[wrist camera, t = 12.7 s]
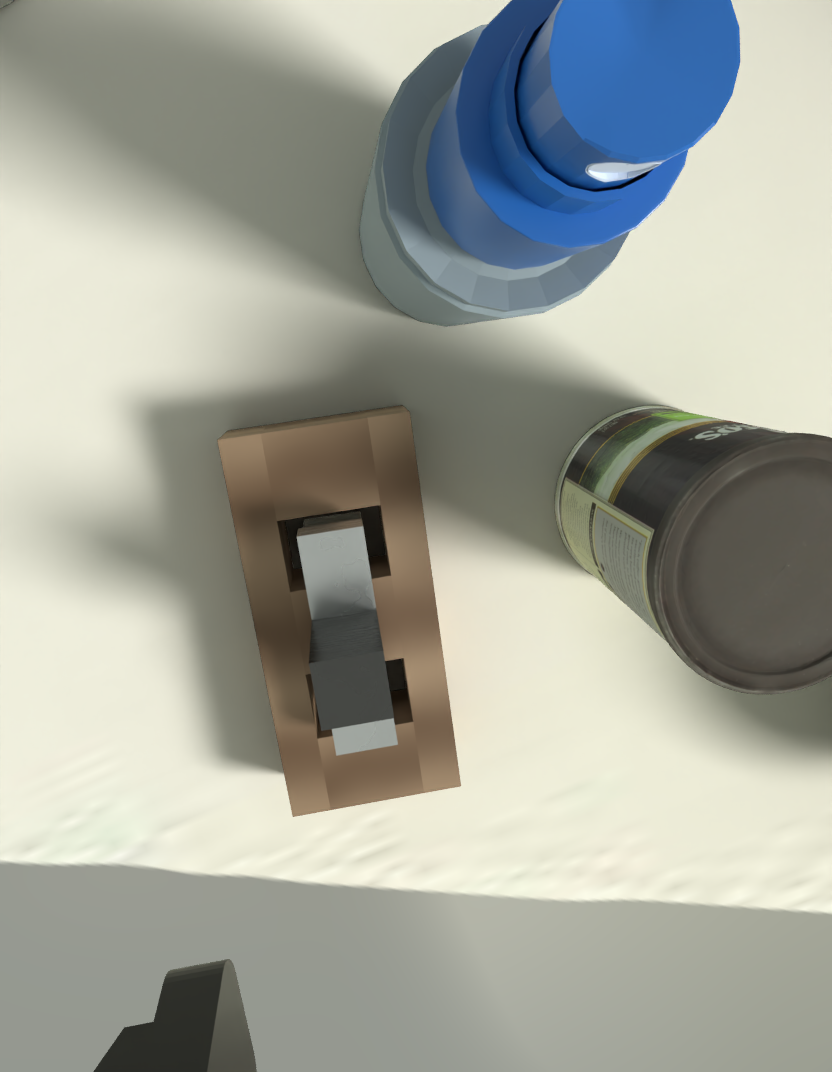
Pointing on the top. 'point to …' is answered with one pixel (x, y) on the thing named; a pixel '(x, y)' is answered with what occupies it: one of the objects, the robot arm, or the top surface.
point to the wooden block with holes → (398, 583)
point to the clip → (345, 635)
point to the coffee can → (710, 540)
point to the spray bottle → (538, 151)
